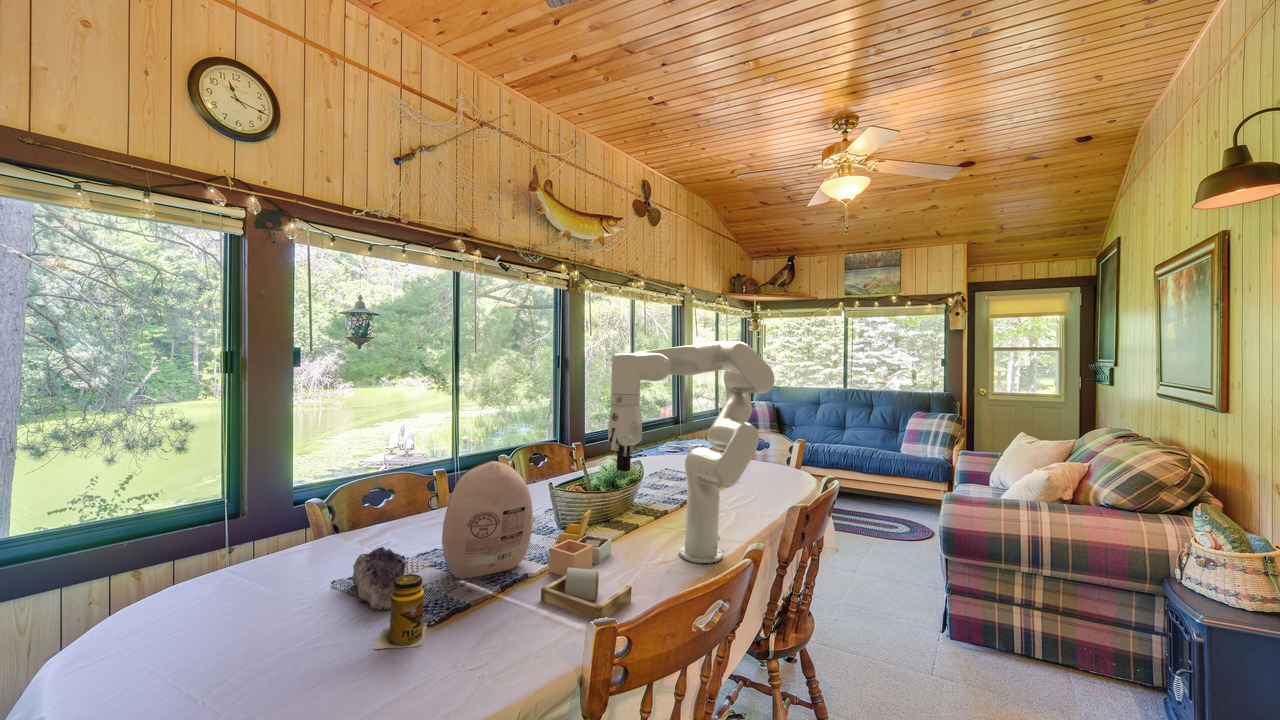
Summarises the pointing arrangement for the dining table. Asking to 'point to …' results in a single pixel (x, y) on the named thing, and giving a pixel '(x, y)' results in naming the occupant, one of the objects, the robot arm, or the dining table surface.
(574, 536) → the yellow toy chair
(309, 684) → the dining table surface
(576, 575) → the ceramic mug
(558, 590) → the frame
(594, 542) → the walnut cube
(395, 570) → the geode
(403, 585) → the condiment
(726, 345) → the robot arm
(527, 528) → the packaged food
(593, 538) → the grey tin
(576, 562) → the terracotta planter
